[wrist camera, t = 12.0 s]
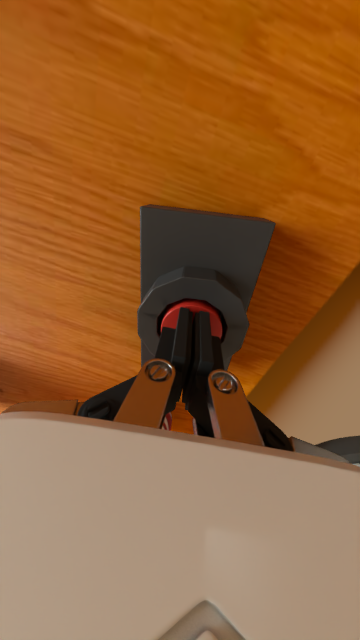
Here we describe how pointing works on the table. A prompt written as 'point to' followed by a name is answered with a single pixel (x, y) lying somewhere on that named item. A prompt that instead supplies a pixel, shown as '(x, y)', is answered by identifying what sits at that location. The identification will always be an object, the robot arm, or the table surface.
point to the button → (194, 306)
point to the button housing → (199, 268)
